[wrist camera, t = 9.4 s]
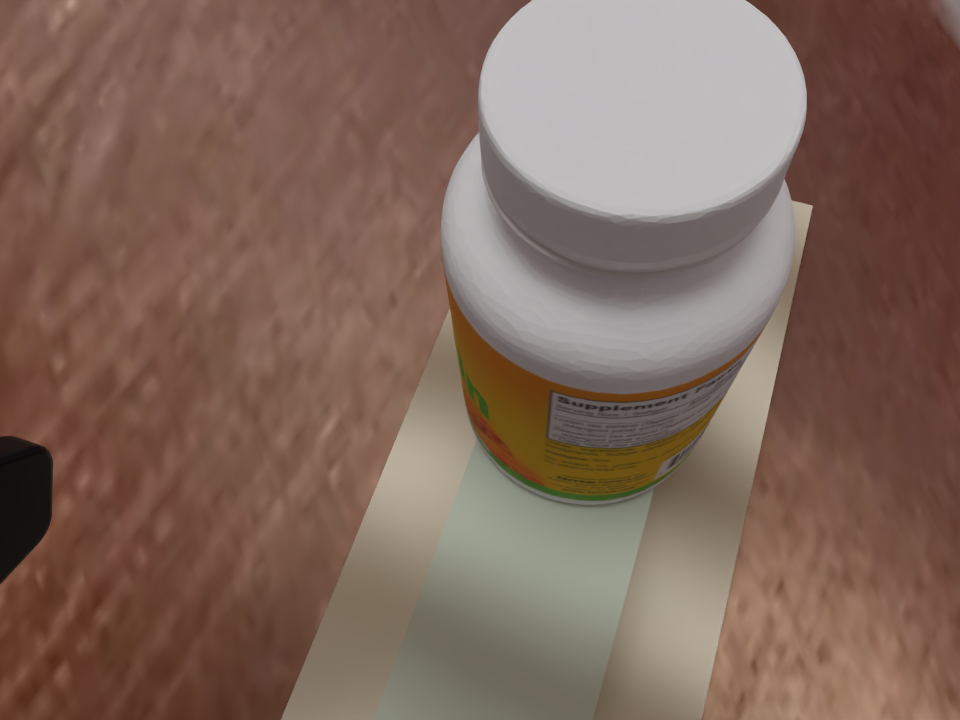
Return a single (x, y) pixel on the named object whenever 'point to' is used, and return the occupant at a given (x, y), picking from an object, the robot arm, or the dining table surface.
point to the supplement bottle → (618, 233)
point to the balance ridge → (537, 572)
